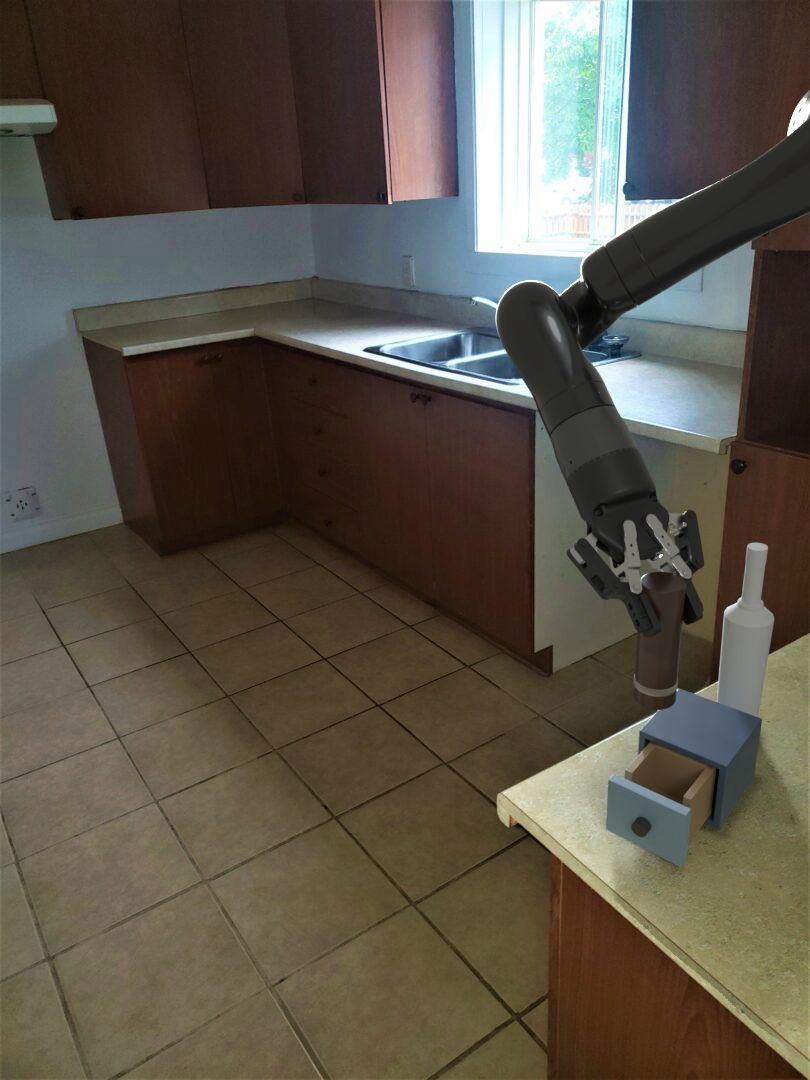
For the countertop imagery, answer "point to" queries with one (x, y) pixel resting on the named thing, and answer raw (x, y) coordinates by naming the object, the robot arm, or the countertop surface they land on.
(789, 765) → the countertop surface
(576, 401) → the robot arm
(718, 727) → the cabinet
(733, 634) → the bottle
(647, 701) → the pepper mill
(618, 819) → the drawer
